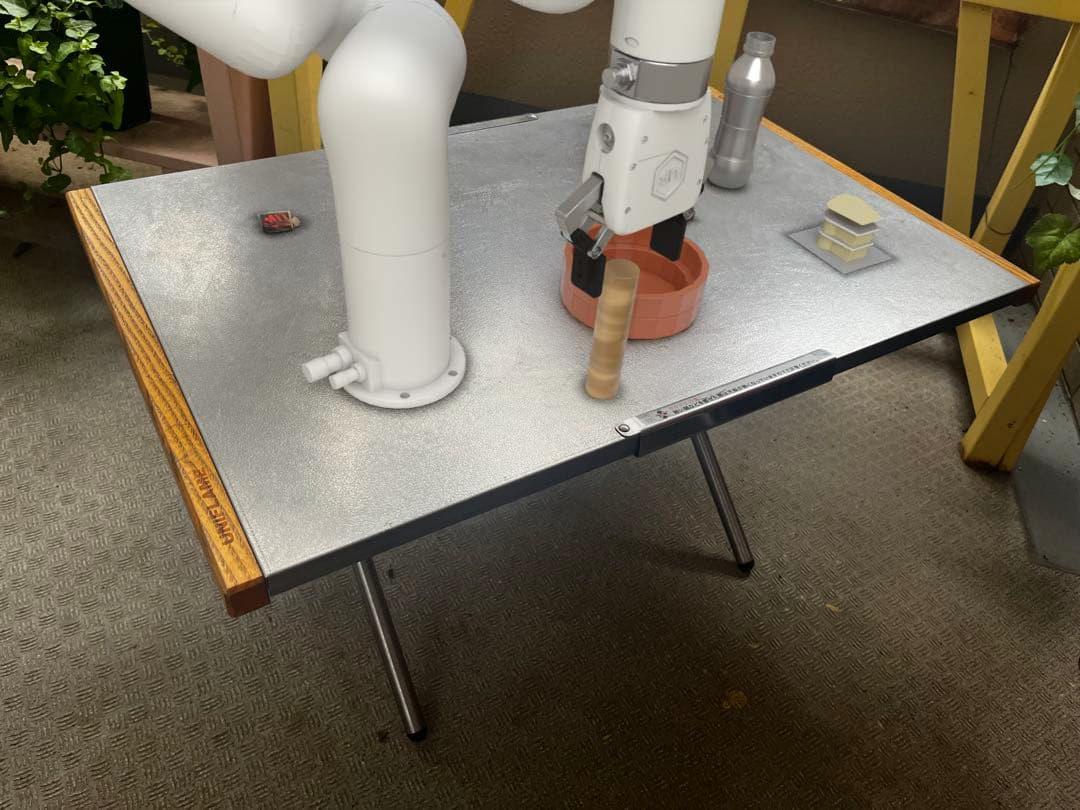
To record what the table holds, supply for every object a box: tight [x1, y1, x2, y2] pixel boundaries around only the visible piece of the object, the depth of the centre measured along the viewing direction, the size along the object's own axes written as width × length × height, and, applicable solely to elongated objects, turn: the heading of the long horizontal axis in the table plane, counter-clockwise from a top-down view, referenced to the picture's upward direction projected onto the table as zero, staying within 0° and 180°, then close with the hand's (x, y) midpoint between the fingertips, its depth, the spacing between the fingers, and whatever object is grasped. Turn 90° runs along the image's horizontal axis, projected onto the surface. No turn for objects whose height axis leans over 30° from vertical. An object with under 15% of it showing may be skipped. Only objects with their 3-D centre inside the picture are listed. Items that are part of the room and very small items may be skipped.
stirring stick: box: [584, 259, 640, 401], centre depth 74 cm, size 3×3×14 cm
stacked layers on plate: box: [787, 193, 893, 275], centre depth 102 cm, size 10×9×6 cm
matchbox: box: [256, 210, 302, 234], centre depth 97 cm, size 5×5×1 cm
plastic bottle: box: [707, 31, 777, 189], centre depth 108 cm, size 6×7×20 cm
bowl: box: [559, 222, 710, 340], centre depth 89 cm, size 16×16×6 cm
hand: (626, 271), depth 70 cm, fingers open, 9 cm apart
